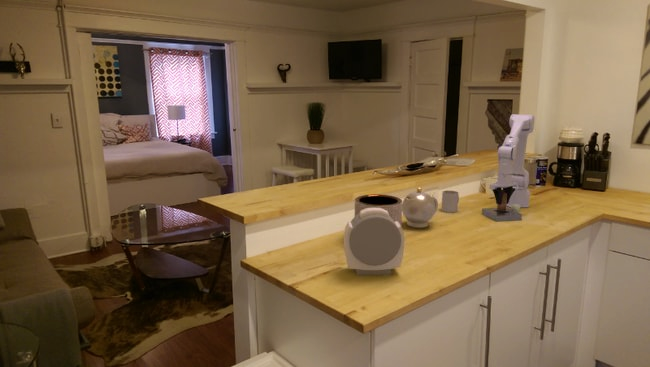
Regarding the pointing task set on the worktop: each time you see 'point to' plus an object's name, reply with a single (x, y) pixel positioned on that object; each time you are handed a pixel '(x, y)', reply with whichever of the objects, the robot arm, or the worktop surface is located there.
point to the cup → (450, 201)
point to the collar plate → (501, 214)
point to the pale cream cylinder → (515, 208)
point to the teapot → (419, 208)
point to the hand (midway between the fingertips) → (502, 203)
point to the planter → (381, 205)
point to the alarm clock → (373, 242)
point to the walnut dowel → (503, 203)
